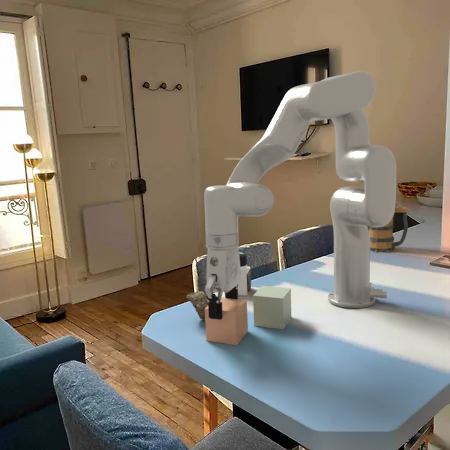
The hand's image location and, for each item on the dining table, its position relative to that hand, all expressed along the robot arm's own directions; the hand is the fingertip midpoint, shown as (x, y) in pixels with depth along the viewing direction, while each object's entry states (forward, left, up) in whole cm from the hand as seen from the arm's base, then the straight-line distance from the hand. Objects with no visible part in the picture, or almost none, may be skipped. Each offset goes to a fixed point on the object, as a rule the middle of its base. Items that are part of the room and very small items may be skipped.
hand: (224, 311), depth 104 cm
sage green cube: (-8, -12, -7) cm, 16 cm away
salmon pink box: (0, -1, -7) cm, 6 cm away
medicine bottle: (+8, -30, -7) cm, 32 cm away
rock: (+9, -7, -7) cm, 13 cm away
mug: (-31, -90, -7) cm, 95 cm away
